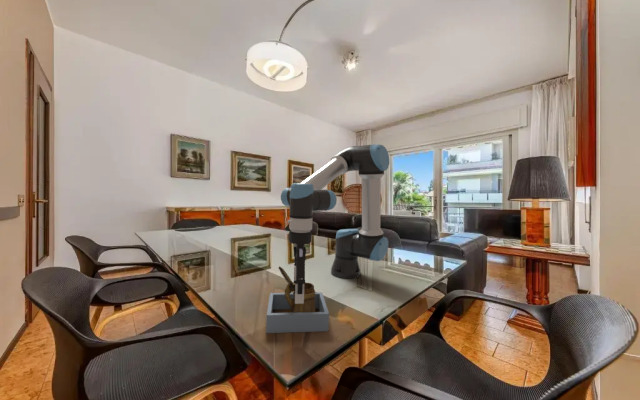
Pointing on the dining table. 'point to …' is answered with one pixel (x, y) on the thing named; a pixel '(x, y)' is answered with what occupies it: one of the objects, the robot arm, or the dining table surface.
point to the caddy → (296, 316)
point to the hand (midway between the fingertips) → (298, 293)
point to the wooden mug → (308, 296)
